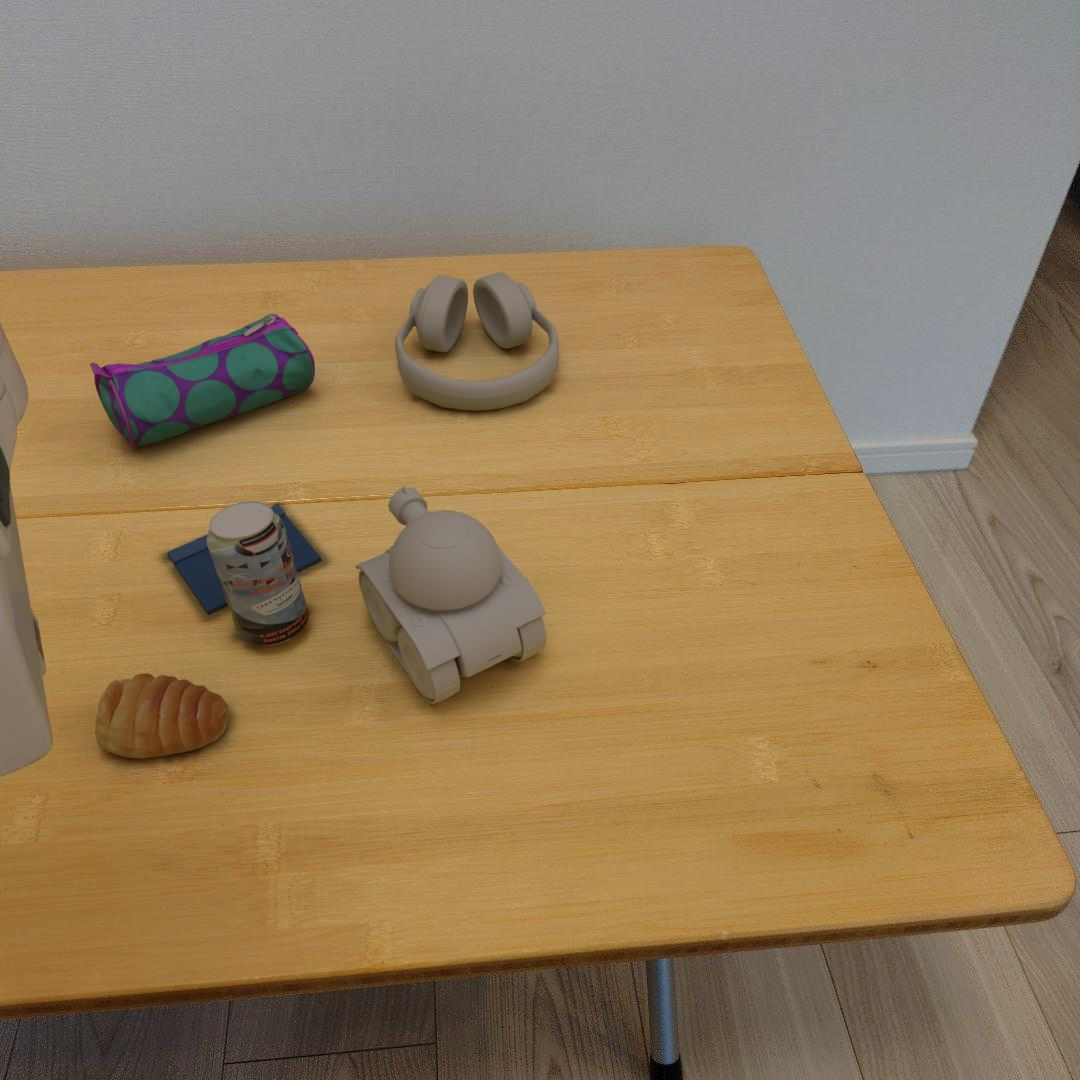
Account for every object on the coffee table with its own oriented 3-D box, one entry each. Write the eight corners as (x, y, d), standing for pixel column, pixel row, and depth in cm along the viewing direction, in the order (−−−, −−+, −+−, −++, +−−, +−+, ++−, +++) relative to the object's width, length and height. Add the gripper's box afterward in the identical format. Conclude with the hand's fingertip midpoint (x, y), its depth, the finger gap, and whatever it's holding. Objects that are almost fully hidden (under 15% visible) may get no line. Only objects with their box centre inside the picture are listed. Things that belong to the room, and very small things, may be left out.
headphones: (395, 315, 116) (401, 433, 104) (389, 261, 110) (394, 380, 97) (544, 307, 118) (567, 422, 106) (546, 254, 111) (571, 369, 99)
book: (208, 614, 82) (206, 609, 82) (168, 555, 87) (166, 550, 87) (321, 560, 87) (320, 555, 86) (277, 507, 92) (276, 501, 92)
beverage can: (261, 668, 78) (229, 567, 70) (218, 617, 82) (184, 515, 74) (326, 630, 81) (304, 529, 73) (283, 582, 85) (257, 481, 77)
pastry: (239, 691, 76) (229, 662, 74) (219, 764, 72) (207, 736, 69) (123, 690, 76) (108, 661, 74) (95, 763, 71) (78, 735, 69)
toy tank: (356, 604, 83) (336, 493, 74) (461, 558, 87) (455, 448, 78) (438, 725, 74) (426, 617, 65) (550, 668, 78) (554, 559, 69)
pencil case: (287, 363, 109) (272, 288, 103) (323, 400, 104) (309, 324, 98) (107, 427, 100) (77, 350, 94) (136, 471, 95) (107, 393, 89)
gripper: (-236, 257, 35) (-73, 526, 45) (-294, 640, 22) (-46, 902, 32) (-50, 223, 37) (68, 487, 47) (-3, 556, 24) (146, 825, 34)
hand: (22, 658), depth 39 cm, fingers closed
